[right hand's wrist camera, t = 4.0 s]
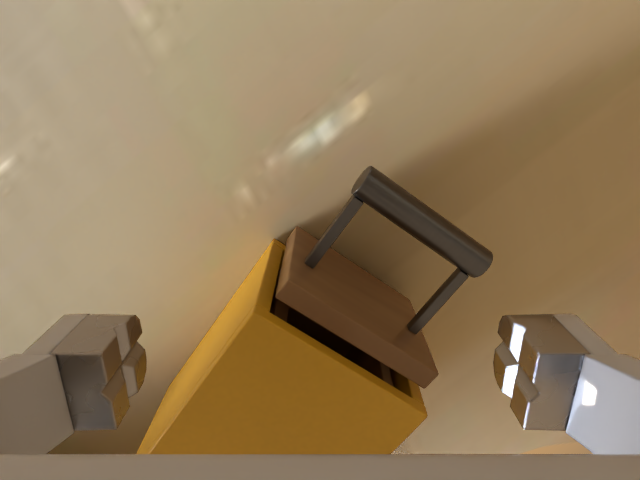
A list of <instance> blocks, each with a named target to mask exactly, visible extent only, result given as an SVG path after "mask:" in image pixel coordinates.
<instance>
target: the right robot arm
mask: <svg viewBox="0 0 640 480" xmlns="http://www.w3.org/2000/svg"><path fill="white" fill-rule="evenodd" d="M141 334H142V329H141V324H140V319H139V318H138V317H137V316H136V315H111V314H68V315H64V316H63V317H61V318H60V319H59V320H58V321H57V322H56V323H55V324H54V325H53V326H52V327H51V328H50V329H48V330H47V331H46V332H45V333H44V334H43V335H42V336H41V337H40V338H39V339H38V340H37V341H36V342H34V343H33V344H32V345H31V346H30V347H29V348H28V349H27V350H26V351H25V352H24V353H23V354H14V355H11V356H9V357H7V358H4V359H2V360H0V480H640V360H638V359H636V358H633V357H631V356H629V355H626V354H617V353H616V352H615V351H614V350H613V349H612V348H611V347H610V346H609V345H608V344H607V343H606V342H605V341H603V340H602V339H601V338H600V337H599V336H598V335H597V334H596V333H595V332H594V331H593V330H592V329H591V328H589V327H588V326H587V325H586V324H585V323H584V322H583V321H582V320H581V319H580V318H579V317H578V316H576V315H573V314H539V315H506V316H502V318H501V321H500V323H499V329H498V334H499V335H500V337H501V338H502V340H503V342H502V343H501V344H500V345H499V346H498V347H497V348H496V349H495V354H494V362H493V364H494V374H495V378H496V381H497V384H498V386H499V388H500V389H501V391H502V392H503V393H504V394H506V395H508V396H509V397H511V398H512V399H511V405H510V407H511V409H512V410H513V412H514V414H515V416H516V417H517V419H518V421H519V422H520V424H521V426H522V428H523V429H524V430H560V431H566V433H567V434H568V435H570V436H571V437H572V438H574V439H575V440H576V441H577V442H579V443H580V444H581V445H583V446H584V447H585V448H587V449H588V450H589V451H591V452H592V453H593V454H47V453H48V452H50V451H51V450H52V449H53V448H55V447H56V446H57V445H59V444H60V443H61V442H63V441H64V440H65V439H67V438H68V437H69V436H71V435H72V434H73V433H74V431H80V430H115V429H117V428H118V426H119V424H120V422H121V421H122V419H123V417H124V416H125V414H126V412H127V410H128V409H129V407H130V405H129V399H128V398H129V397H131V396H132V395H134V394H136V393H137V392H138V391H139V389H140V387H141V386H142V384H143V381H144V377H145V373H146V353H145V349H144V348H143V347H142V346H141V345H140V344H139V343H138V342H137V340H138V338H139V337H140V335H141Z"/></svg>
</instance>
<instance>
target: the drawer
mask: <svg viewBox="0 0 640 480" xmlns="http://www.w3.org/2000/svg"><path fill="white" fill-rule="evenodd" d="M351 193H352V194H353V195H352V197H351V198H350V199H349V201H348V202H347V203H346V205H345V206H344V207H343V209H342V210H341V211H340V213H339V214H338V215H337V217H336V218H335V219H334V221H333V222H332V223H331V225H330V226H329V227H328V229H327V230H326V231H325V233H324V234H323V235H322V237H321V238H320V239H319V240H318V239H316V238H315V237H313V236H312V235H310V234H309V233H307V232H306V231H304V230H303V229H301V228H300V227H298V226H296V227H295V229H294V230H293V232H292V233H291V234H290V236H289V237H288V238H287V242H286V247H285V252H284V257H283V262H282V267H281V268H280V270H279V271H278V276H277V280H276V285H275V289H274V294H273V299H272V303H271V308H270V313H272V314H273V315H275V316H277V317H278V318H280V319H282V320H283V321H285V322H287V323H288V324H290V325H292V326H293V327H295V328H297V329H298V330H300V331H302V332H303V333H305V334H307V335H308V336H310V337H312V338H313V339H315V340H316V341H318V342H320V343H321V344H323V345H325V346H326V347H328V348H330V349H331V350H333V351H335V352H336V353H338V354H340V355H341V356H343V357H345V358H346V359H348V360H350V361H351V362H353V363H355V364H356V365H358V366H360V367H361V368H363V369H365V370H366V371H368V372H370V373H371V374H373V375H375V376H376V377H378V378H380V379H381V380H383V381H385V382H386V383H388V384H390V385H391V386H393V382H392V377H391V373H390V369H389V368H391V369H393V370H394V371H396V372H398V373H399V374H401V375H403V376H404V377H406V378H407V379H409V380H411V381H412V382H414V383H416V384H417V385H419V386H421V387H422V388H424V389H425V388H426V387H427V386H428V385H429V384H430V383H431V382H432V381H433V380H434V379H435V378H436V376H437V375H438V371H437V368H436V366H435V363H434V361H433V358H432V356H431V353H430V350H429V348H428V345H427V343H426V340H425V338H424V335H423V333H422V330H421V329H422V328H423V327H424V326H425V324H426V323H427V322H428V321H429V320H430V319H431V318H432V317H433V316H434V314H435V313H436V312H437V311H438V310H439V309H440V308H441V307H442V306H443V305H444V303H445V302H446V301H447V300H448V299H449V298H450V297H451V296H452V295H453V293H454V292H455V291H456V290H457V289H458V288H459V287H460V286H461V285H462V284H463V282H464V281H465V280H466V279H467V278H468V277H469V276H471V277H474V278H475V277H479V276H481V275H482V274H483V273H485V272H486V271H487V269H488V268H489V267H490V265H491V263H492V260H493V254H492V252H491V251H489V250H488V249H486V248H485V247H484V246H482V245H481V244H479V243H478V242H477V241H475V240H474V239H473V238H471V237H470V236H468V235H467V234H466V233H464V232H463V231H461V230H460V229H459V228H457V227H456V226H454V225H453V224H452V223H450V222H449V221H448V220H446V219H445V218H443V217H442V216H441V215H439V214H438V213H436V212H435V211H434V210H432V209H431V208H429V207H428V206H427V205H425V204H424V203H423V202H421V201H420V200H418V199H417V198H416V197H414V196H413V195H411V194H410V193H409V192H407V191H406V190H404V189H403V188H402V187H400V186H399V185H398V184H396V183H395V182H393V181H392V180H391V179H389V178H388V177H386V176H385V175H384V174H382V173H381V172H379V171H378V170H377V169H375V168H374V167H373V166H369V167H367V168H366V169H365V170H364V171H363V173H362V174H361V175H360V176H359V178H358V179H357V181H356V182H355V184H354V186H353V188H352V191H351ZM363 202H364V203H366V204H367V205H369V206H370V207H372V208H373V209H374V210H376V211H377V212H379V213H380V214H382V215H383V216H384V217H386V218H387V219H389V220H390V221H392V222H393V223H394V224H396V225H397V226H399V227H400V228H402V229H403V230H405V231H406V232H407V233H409V234H410V235H412V236H413V237H415V238H416V239H417V240H419V241H420V242H422V243H423V244H425V245H426V246H428V247H429V248H430V249H432V250H433V251H435V252H436V253H438V254H439V255H440V256H442V257H443V258H445V259H446V260H448V261H449V262H451V263H452V264H453V265H455V266H456V267H458V268H457V269H456V270H455V271H454V272H453V273H452V274H451V276H450V277H449V278H448V279H447V280H446V281H445V282H444V283H443V285H442V286H441V287H440V288H439V289H438V290H437V291H436V293H435V294H434V295H433V296H432V297H431V298H430V299H429V300H428V302H427V303H426V304H425V305H424V306H423V307H422V308H421V309H420V311H419V312H418V313H417V314H416V315H415V312H414V310H413V307H412V304H411V302H410V300H409V299H407V298H406V297H404V296H403V295H401V294H400V293H398V292H397V291H395V290H394V289H392V288H391V287H389V286H388V285H386V284H385V283H383V282H382V281H380V280H379V279H377V278H376V277H374V276H373V275H371V274H369V273H368V272H366V271H365V270H363V269H362V268H360V267H359V266H357V265H356V264H354V263H353V262H351V261H350V260H348V259H347V258H345V257H344V256H342V255H341V254H339V253H338V252H336V251H335V250H333V249H331V248H330V246H331V245H332V244H333V243H334V241H335V240H336V239H337V237H338V236H339V235H340V233H341V232H342V231H343V229H344V228H345V227H346V225H347V224H348V223H349V222H350V220H351V219H352V218H353V216H354V215H355V214H356V212H357V211H358V210H359V208H360V207H361V206H362V205H363ZM467 274H468V275H469V276H468V275H467ZM393 387H394V386H393Z"/></svg>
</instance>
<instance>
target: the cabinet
mask: <svg viewBox="0 0 640 480" xmlns="http://www.w3.org/2000/svg"><path fill="white" fill-rule="evenodd" d="M285 247H286V246H285V245H284V244H282V243H281V242H279V241H278V240H276V239H273V241H272V242H271V243H270V245H269V246H268V248H267V249H266V250H265V252H264V253H263V255H262V256H261V258H260V259H259V260H258V262H257V263H256V265H255V266H254V267H253V269H252V270H251V272H250V273H249V274H248V276H247V277H246V279H245V280H244V281H243V283H242V284H241V286H240V287H239V288H238V290H237V291H236V293H235V294H234V296H233V297H232V298H231V300H230V301H229V303H228V304H227V305H226V307H225V308H224V310H223V311H222V312H221V314H220V315H219V317H218V318H217V319H216V321H215V322H214V324H213V325H212V326H211V328H210V329H209V331H208V332H207V334H206V335H205V336H204V338H203V339H202V341H201V342H200V343H199V345H198V346H197V348H196V349H195V350H194V352H193V353H192V355H191V356H190V357H189V359H188V360H187V362H186V363H185V364H184V366H183V367H182V369H181V370H180V372H179V373H178V374H177V376H176V377H175V379H174V380H173V381H172V383H171V384H170V386H169V387H168V389H167V391H166V394H165V396H164V398H163V400H162V402H161V404H160V406H159V408H158V410H157V412H156V414H155V416H154V418H153V420H152V422H151V424H150V426H149V428H148V430H147V433H146V435H145V437H144V439H143V441H142V443H141V445H140V447H139V449H138V451H137V453H136V454H391V453H392V452H393V451H394V450H395V449H396V448H397V447H398V446H399V445H400V444H401V443H402V442H403V441H404V440H405V439H406V438H407V437H408V436H409V435H410V434H411V433H412V432H413V431H414V430H415V429H416V428H417V427H418V426H419V425H420V424H421V423H422V422H423V421H424V420H425V419H426V418H427V416H428V415H427V412H426V408H425V406H424V402H423V399H422V396H421V392H420V389H419V386H418V385H417V384H416V383H414V382H412V381H411V380H409V379H407V378H406V377H404V376H403V375H401V374H399V373H398V372H396V371H394V370H393V369H391V368H389V369H390V373H391V377H392V382H393V386H394V387H393V386H391V385H390V384H388V383H386V382H385V381H383V380H381V379H380V378H378V377H376V376H375V375H373V374H371V373H370V372H368V371H366V370H365V369H363V368H361V367H360V366H358V365H356V364H355V363H353V362H351V361H350V360H348V359H346V358H345V357H343V356H341V355H340V354H338V353H336V352H335V351H333V350H331V349H330V348H328V347H326V346H325V345H323V344H321V343H320V342H318V341H316V340H315V339H313V338H312V337H310V336H308V335H307V334H305V333H303V332H302V331H300V330H298V329H297V328H295V327H293V326H292V325H290V324H288V323H287V322H285V321H283V320H282V319H280V318H278V317H277V316H275V315H273V314H272V313H270V308H271V303H272V299H273V294H274V289H275V285H276V280H277V276H278V271H279V270H280V268H281V267H282V262H283V257H284V252H285Z"/></svg>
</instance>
